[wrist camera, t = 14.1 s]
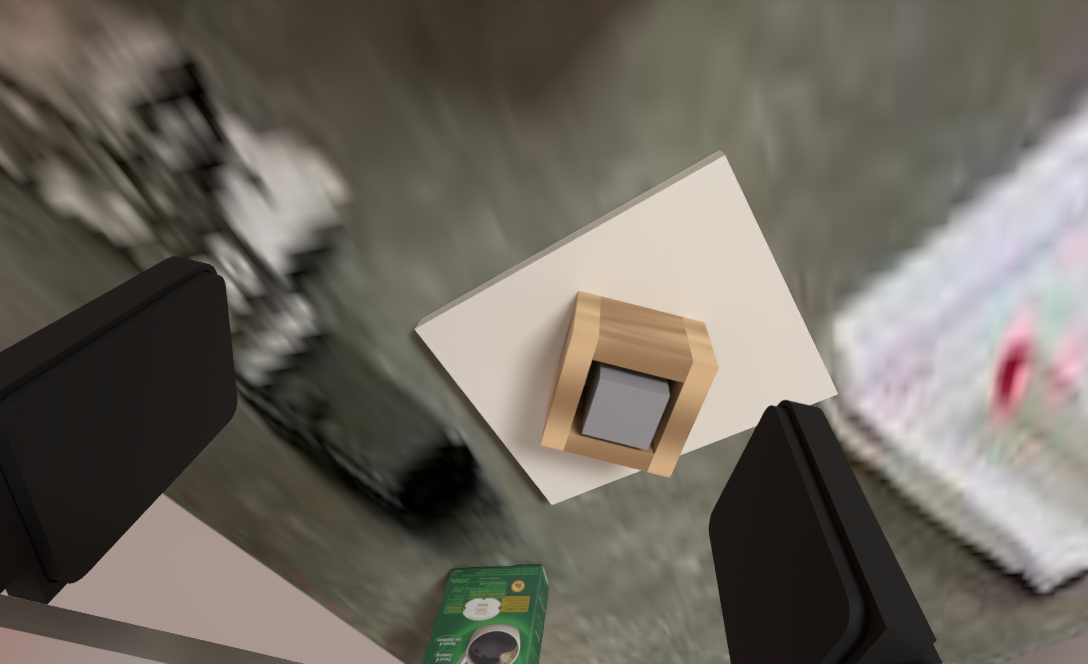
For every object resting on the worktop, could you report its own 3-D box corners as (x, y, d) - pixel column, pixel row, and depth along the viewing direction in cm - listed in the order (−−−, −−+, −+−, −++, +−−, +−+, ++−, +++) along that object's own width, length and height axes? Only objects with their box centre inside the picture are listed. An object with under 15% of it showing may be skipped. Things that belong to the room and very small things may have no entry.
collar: (578, 290, 32) (573, 331, 28) (704, 322, 32) (718, 367, 28) (549, 394, 36) (540, 445, 31) (662, 423, 36) (669, 477, 31)
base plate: (719, 149, 29) (748, 180, 23) (829, 380, 35) (875, 454, 29) (421, 318, 36) (382, 377, 30) (553, 489, 41) (543, 569, 35)
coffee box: (457, 590, 48) (407, 767, 36) (447, 566, 46) (393, 742, 35) (550, 586, 46) (529, 769, 35) (543, 561, 45) (519, 743, 33)
